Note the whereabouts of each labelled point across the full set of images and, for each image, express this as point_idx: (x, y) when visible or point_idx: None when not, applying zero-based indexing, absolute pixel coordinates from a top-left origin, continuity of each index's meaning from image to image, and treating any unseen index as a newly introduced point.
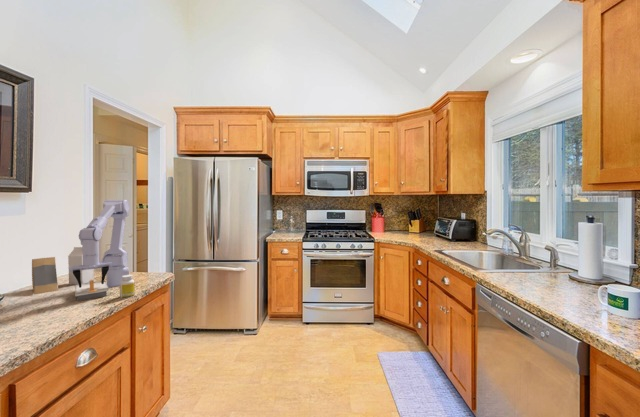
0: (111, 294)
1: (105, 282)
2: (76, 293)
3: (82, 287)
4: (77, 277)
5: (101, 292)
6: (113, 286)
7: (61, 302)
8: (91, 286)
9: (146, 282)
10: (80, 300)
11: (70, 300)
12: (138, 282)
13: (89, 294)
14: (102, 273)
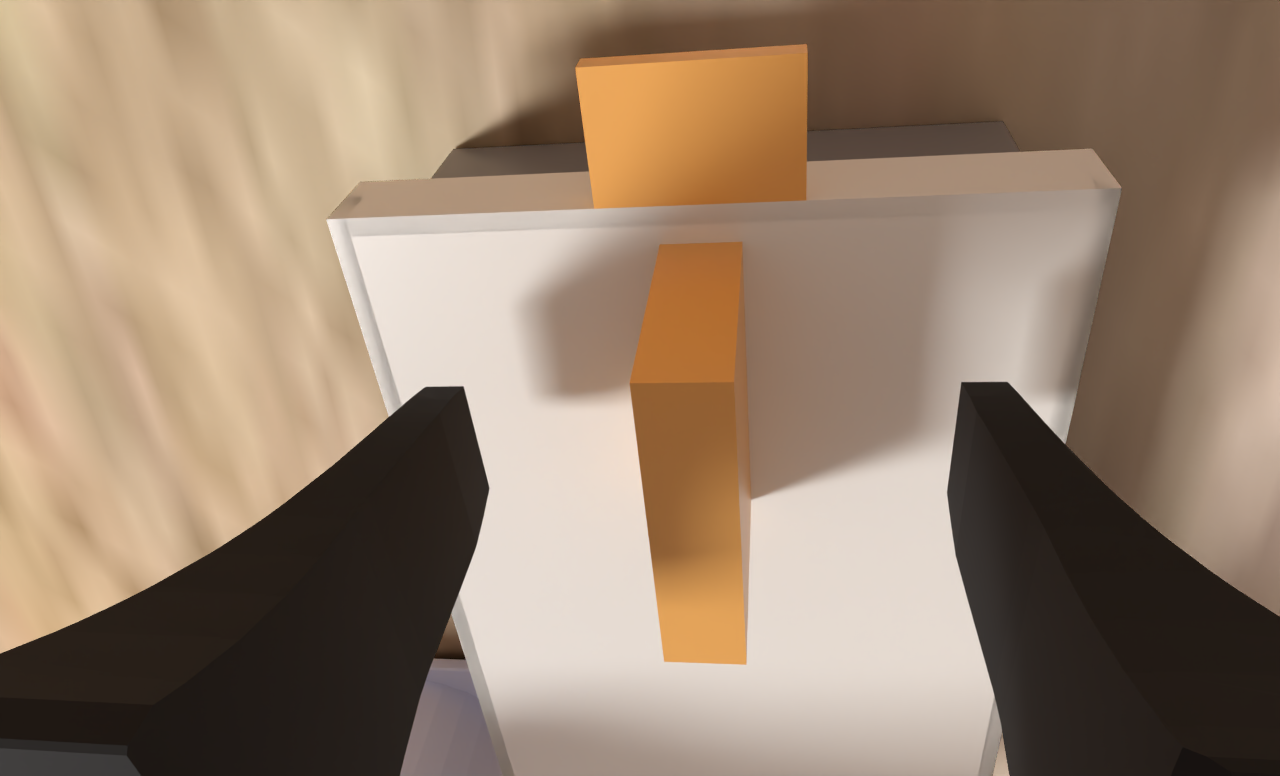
0: None
1: (481, 680)
2: (1082, 182)
3: (888, 598)
4: (1211, 605)
5: None
6: (430, 671)
7: (1245, 333)
8: (707, 298)
9: (2, 631)
10: (945, 134)
11: None
12: None
13: None
14: (270, 598)
